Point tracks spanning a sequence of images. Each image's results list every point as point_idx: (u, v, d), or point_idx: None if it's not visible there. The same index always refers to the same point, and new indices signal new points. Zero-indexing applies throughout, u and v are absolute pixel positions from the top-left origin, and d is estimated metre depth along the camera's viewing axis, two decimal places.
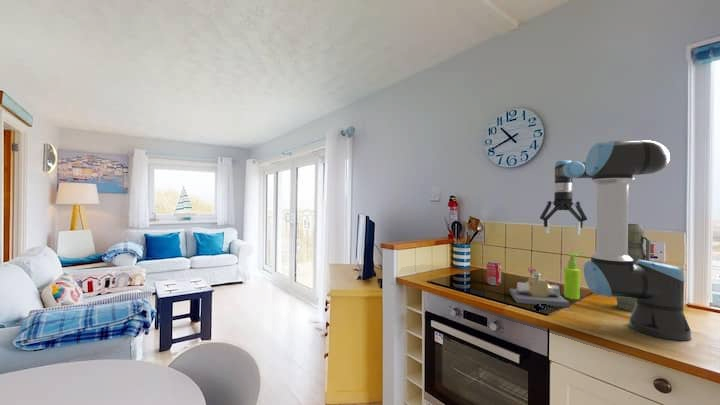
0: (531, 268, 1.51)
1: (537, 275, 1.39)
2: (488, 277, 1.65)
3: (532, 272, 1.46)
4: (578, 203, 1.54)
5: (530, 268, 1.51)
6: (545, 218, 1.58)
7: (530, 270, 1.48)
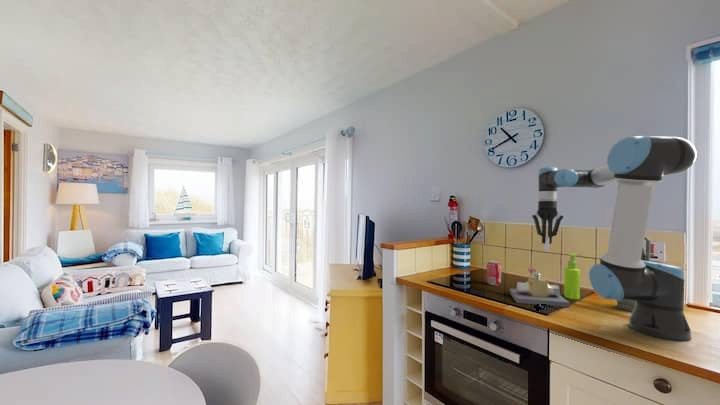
0: (531, 268, 1.51)
1: (537, 275, 1.39)
2: (488, 277, 1.65)
3: (532, 272, 1.46)
4: (561, 217, 1.45)
5: (530, 268, 1.51)
6: (543, 235, 1.47)
7: (530, 270, 1.48)
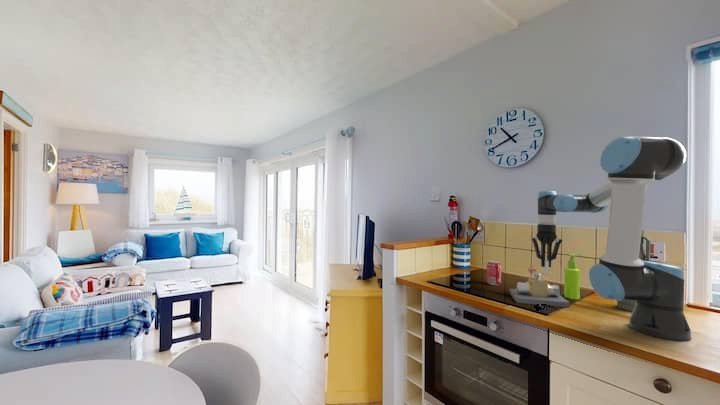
0: (531, 268, 1.51)
1: (537, 275, 1.39)
2: (488, 277, 1.65)
3: (532, 272, 1.46)
4: (560, 241, 1.45)
5: (530, 268, 1.51)
6: (542, 258, 1.47)
7: (530, 270, 1.48)
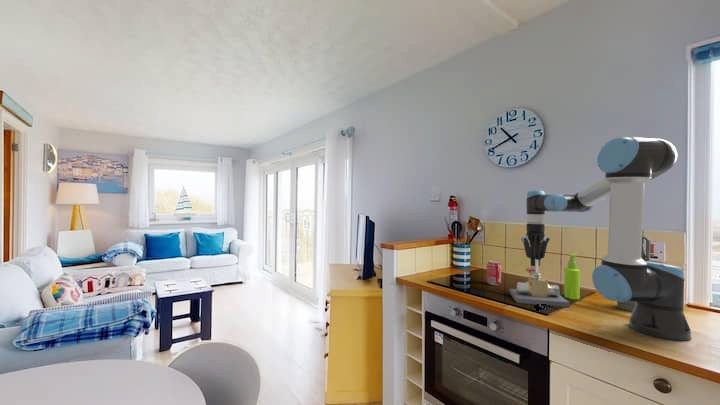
0: (529, 268, 1.51)
1: (537, 275, 1.39)
2: (488, 277, 1.65)
3: (531, 272, 1.46)
4: (548, 240, 1.48)
5: (528, 268, 1.51)
6: (533, 258, 1.47)
7: (529, 270, 1.48)
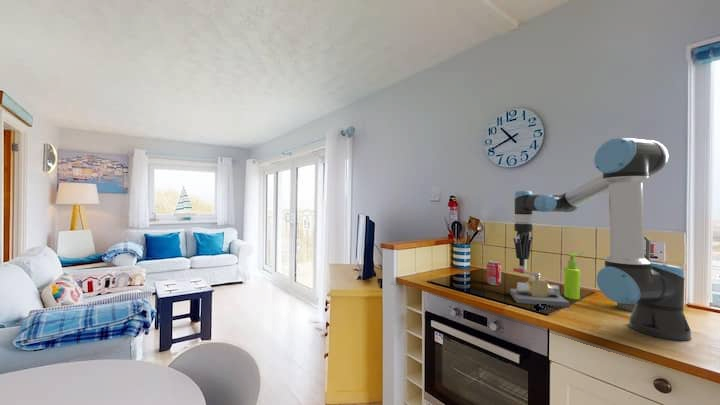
0: (516, 268, 1.51)
1: (539, 275, 1.39)
2: (488, 277, 1.65)
3: (525, 272, 1.45)
4: (531, 239, 1.52)
5: (516, 268, 1.50)
6: (523, 258, 1.47)
7: (521, 270, 1.47)
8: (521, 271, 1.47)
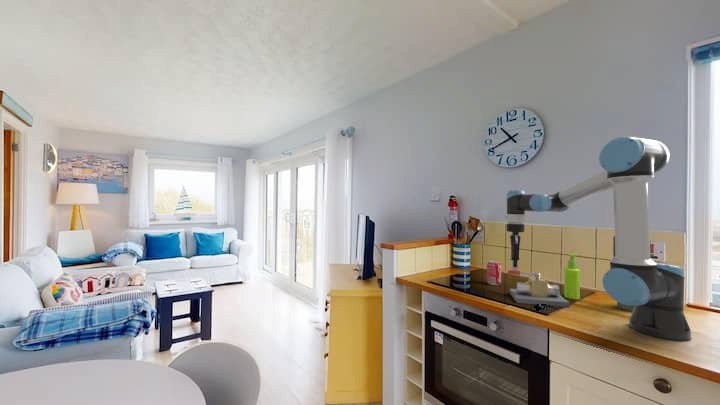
0: (509, 270, 1.46)
1: (540, 275, 1.39)
2: (488, 277, 1.65)
3: (523, 273, 1.42)
4: None
5: (510, 270, 1.45)
6: None
7: (518, 272, 1.43)
8: (518, 273, 1.43)
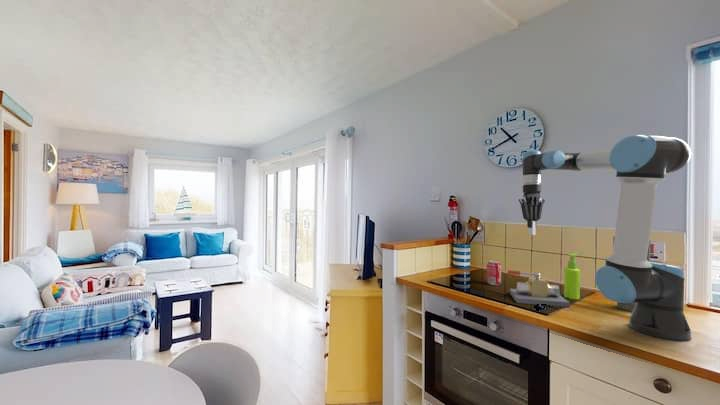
0: (509, 270, 1.46)
1: (540, 275, 1.39)
2: (488, 277, 1.65)
3: (523, 273, 1.42)
4: (543, 201, 1.47)
5: (510, 270, 1.45)
6: (530, 219, 1.45)
7: (518, 272, 1.43)
8: (518, 273, 1.43)
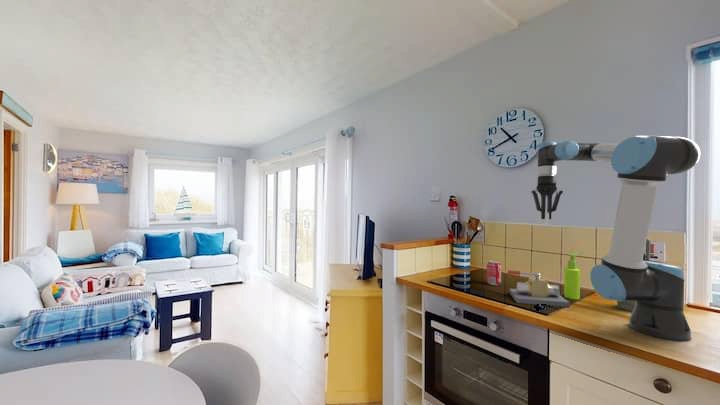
0: (509, 270, 1.46)
1: (540, 275, 1.39)
2: (488, 277, 1.65)
3: (523, 273, 1.42)
4: (560, 192, 1.43)
5: (510, 270, 1.45)
6: (542, 210, 1.45)
7: (518, 272, 1.43)
8: (518, 273, 1.43)
